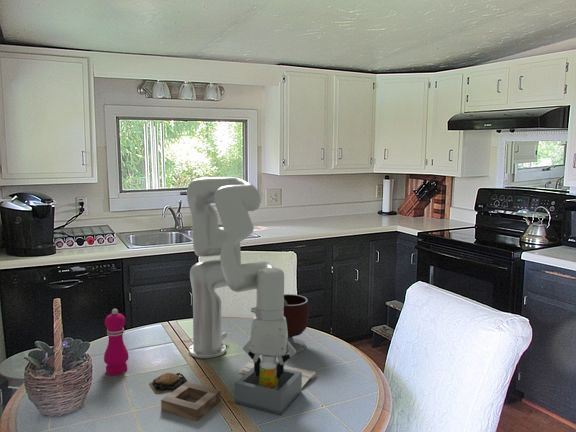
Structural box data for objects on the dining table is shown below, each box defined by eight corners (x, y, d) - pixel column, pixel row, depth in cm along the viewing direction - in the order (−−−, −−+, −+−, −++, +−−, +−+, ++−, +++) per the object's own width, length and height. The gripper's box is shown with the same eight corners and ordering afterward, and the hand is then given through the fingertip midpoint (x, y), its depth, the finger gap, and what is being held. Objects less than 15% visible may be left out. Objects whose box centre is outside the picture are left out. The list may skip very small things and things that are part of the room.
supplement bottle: (255, 388, 137) (256, 355, 136) (264, 380, 142) (265, 348, 141) (272, 393, 135) (273, 359, 134) (281, 384, 140) (282, 352, 139)
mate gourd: (279, 336, 184) (280, 284, 182) (313, 342, 179) (315, 289, 176) (259, 351, 171) (260, 295, 168) (296, 358, 165) (297, 301, 162)
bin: (258, 381, 148) (258, 362, 147) (301, 392, 142) (301, 372, 142) (234, 403, 135) (234, 382, 135) (280, 415, 130) (281, 394, 129)
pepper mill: (121, 377, 149) (119, 313, 147) (99, 374, 151) (97, 311, 148) (133, 366, 156) (131, 306, 154) (112, 364, 158) (110, 304, 155)
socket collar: (186, 391, 141) (186, 381, 141) (220, 400, 137) (220, 390, 136) (161, 410, 131) (161, 399, 131) (197, 420, 127) (197, 409, 126)
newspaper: (318, 375, 154) (318, 368, 154) (301, 396, 144) (301, 388, 143) (256, 359, 165) (256, 352, 164) (236, 377, 154) (236, 370, 154)
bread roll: (155, 397, 139) (155, 384, 139) (147, 384, 147) (147, 372, 146) (191, 388, 145) (191, 376, 144) (182, 376, 152) (182, 365, 151)
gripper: (236, 315, 133) (235, 378, 136) (298, 320, 131) (297, 384, 133) (243, 306, 141) (242, 366, 143) (302, 310, 138) (300, 372, 141)
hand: (268, 374), depth 138 cm, fingers closed on supplement bottle, 5 cm apart
